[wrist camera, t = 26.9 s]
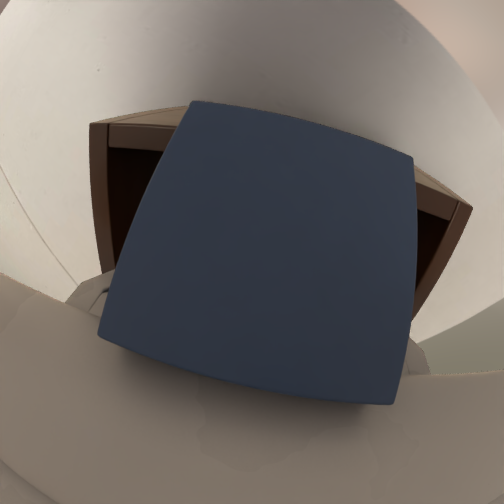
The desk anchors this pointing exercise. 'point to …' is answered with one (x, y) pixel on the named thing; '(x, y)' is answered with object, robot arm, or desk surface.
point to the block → (272, 258)
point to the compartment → (151, 150)
